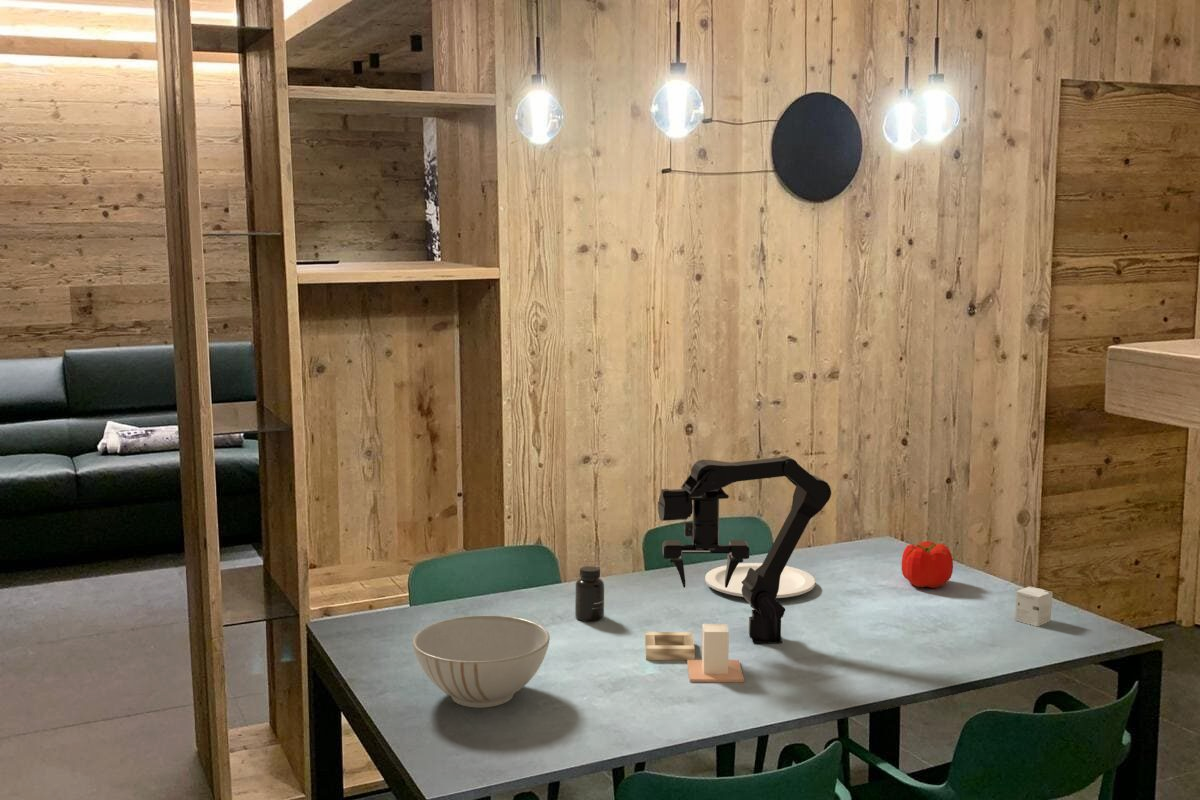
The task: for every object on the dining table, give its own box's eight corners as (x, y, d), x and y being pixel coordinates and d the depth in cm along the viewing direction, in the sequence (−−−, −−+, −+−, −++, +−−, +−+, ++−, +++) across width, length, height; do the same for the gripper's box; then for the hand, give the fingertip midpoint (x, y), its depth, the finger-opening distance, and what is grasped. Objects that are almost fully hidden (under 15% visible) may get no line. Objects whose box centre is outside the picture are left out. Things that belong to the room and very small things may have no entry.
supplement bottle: (601, 623, 279) (600, 573, 277) (572, 621, 280) (572, 572, 278) (606, 613, 286) (606, 565, 284) (578, 612, 287) (578, 563, 285)
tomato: (918, 573, 317) (919, 535, 316) (962, 584, 308) (964, 545, 306) (888, 584, 308) (890, 544, 307) (933, 596, 299) (935, 555, 297)
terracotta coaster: (738, 662, 254) (738, 659, 254) (743, 682, 243) (743, 679, 243) (686, 662, 254) (687, 659, 254) (689, 682, 243) (689, 679, 243)
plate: (823, 604, 293) (823, 595, 292) (709, 604, 293) (709, 595, 293) (805, 571, 321) (805, 562, 320) (701, 571, 321) (701, 562, 321)
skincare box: (1014, 620, 280) (1015, 590, 279) (1027, 615, 284) (1029, 585, 283) (1038, 627, 276) (1039, 596, 275) (1051, 621, 280) (1053, 591, 279)
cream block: (725, 664, 251) (726, 623, 250) (728, 673, 246) (728, 631, 245) (702, 664, 251) (702, 623, 250) (703, 673, 246) (704, 631, 245)
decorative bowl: (435, 733, 219) (434, 670, 218) (399, 682, 244) (397, 625, 242) (570, 709, 230) (570, 649, 228) (523, 662, 254) (522, 608, 252)
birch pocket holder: (691, 642, 266) (691, 632, 266) (694, 660, 256) (694, 648, 255) (645, 642, 266) (645, 631, 266) (646, 659, 256) (646, 648, 255)
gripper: (744, 509, 269) (743, 576, 271) (661, 509, 269) (661, 576, 272) (750, 521, 258) (748, 591, 260) (663, 521, 258) (663, 591, 261)
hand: (705, 587), depth 264 cm, fingers open, 9 cm apart
